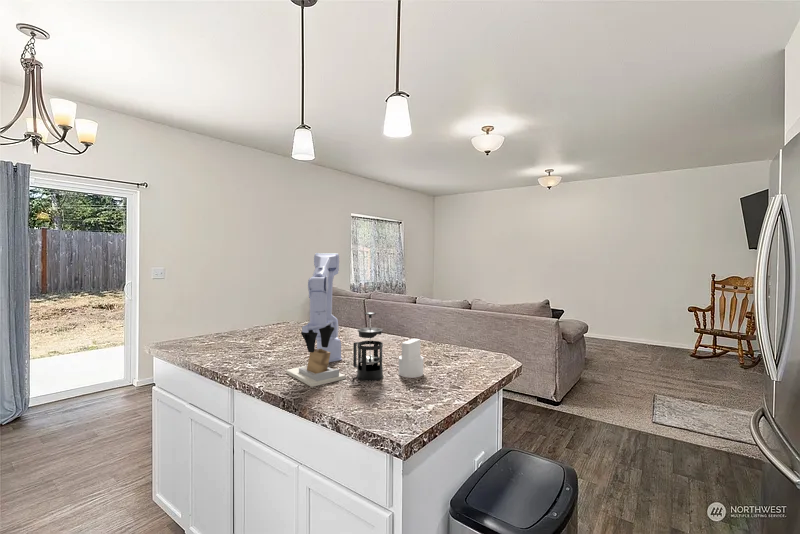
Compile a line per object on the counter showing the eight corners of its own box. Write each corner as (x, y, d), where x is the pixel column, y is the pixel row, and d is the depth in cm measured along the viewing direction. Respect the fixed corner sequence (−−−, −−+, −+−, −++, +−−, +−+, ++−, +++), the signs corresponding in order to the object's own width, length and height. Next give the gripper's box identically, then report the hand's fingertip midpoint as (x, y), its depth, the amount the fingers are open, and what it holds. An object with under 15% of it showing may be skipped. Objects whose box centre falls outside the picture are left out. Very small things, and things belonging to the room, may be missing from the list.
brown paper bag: (315, 367, 134) (320, 346, 134) (326, 371, 132) (330, 350, 132) (306, 369, 130) (310, 348, 130) (317, 374, 127) (322, 352, 127)
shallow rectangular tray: (318, 366, 144) (318, 357, 144) (345, 378, 129) (345, 368, 129) (286, 373, 135) (286, 363, 135) (311, 387, 121) (311, 376, 121)
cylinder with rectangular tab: (415, 379, 130) (415, 345, 129) (393, 374, 134) (394, 341, 134) (427, 372, 137) (427, 340, 137) (406, 368, 142) (406, 337, 142)
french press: (389, 375, 134) (389, 311, 133) (377, 383, 125) (377, 315, 125) (361, 370, 138) (361, 309, 138) (347, 378, 130) (347, 312, 129)
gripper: (321, 307, 138) (321, 343, 139) (295, 312, 125) (295, 352, 126) (337, 309, 135) (337, 346, 136) (311, 314, 122) (311, 355, 123)
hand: (318, 349), depth 131 cm, fingers open, 7 cm apart
